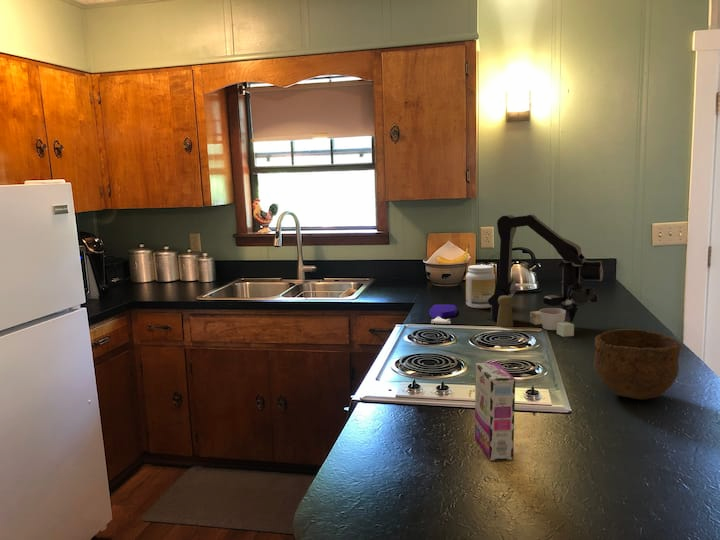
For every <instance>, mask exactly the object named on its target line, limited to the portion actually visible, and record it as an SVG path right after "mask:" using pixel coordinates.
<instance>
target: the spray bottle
mask: <svg viewBox="0 0 720 540" xmlns="http://www.w3.org/2000/svg"><path fill="white" fill-rule="evenodd" d="M457 313H458V308H457V306H456V305H455V304H443V303H442V304H441V303H440V304H439V303H437V304H434V305H432V306H431V308H430V309H429V313H428V314H429V317H430V318H431V320H430V324H434V323H435V324H438V325H451V323H452V322H451V318H453V317H455V316H457ZM445 318H446V319H445Z"/></svg>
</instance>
